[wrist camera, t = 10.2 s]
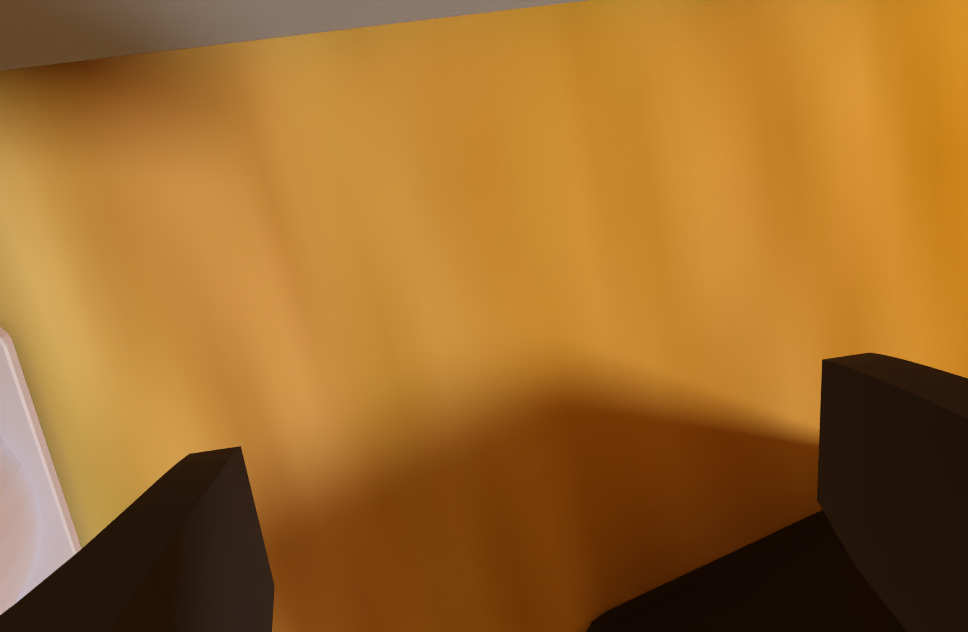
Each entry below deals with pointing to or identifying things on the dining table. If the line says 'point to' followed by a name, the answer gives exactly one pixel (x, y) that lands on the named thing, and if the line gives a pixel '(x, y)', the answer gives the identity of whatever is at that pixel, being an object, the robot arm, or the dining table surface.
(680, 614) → the electronic device
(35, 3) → the board
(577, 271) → the dining table surface
